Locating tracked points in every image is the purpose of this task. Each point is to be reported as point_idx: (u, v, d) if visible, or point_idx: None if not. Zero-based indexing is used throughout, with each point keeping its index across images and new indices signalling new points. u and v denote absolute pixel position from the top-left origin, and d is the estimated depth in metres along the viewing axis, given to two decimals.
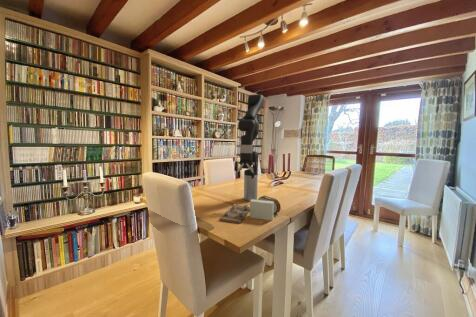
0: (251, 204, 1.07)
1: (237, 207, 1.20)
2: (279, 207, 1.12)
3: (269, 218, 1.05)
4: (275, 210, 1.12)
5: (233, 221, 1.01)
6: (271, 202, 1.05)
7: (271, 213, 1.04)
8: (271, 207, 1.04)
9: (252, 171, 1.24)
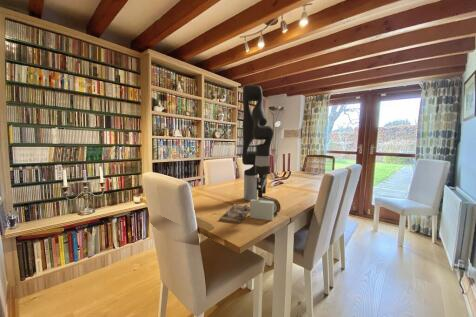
0: (251, 204, 1.07)
1: (237, 207, 1.20)
2: (279, 207, 1.12)
3: (269, 218, 1.05)
4: (275, 210, 1.12)
5: (233, 221, 1.01)
6: (271, 202, 1.05)
7: (271, 213, 1.04)
8: (271, 207, 1.04)
9: (265, 185, 1.10)
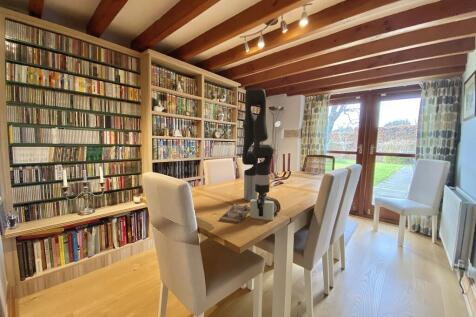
0: (251, 204, 1.07)
1: (237, 207, 1.20)
2: (279, 207, 1.12)
3: (269, 218, 1.05)
4: (275, 210, 1.12)
5: (233, 221, 1.01)
6: (271, 202, 1.05)
7: (271, 213, 1.04)
8: (271, 207, 1.04)
9: None
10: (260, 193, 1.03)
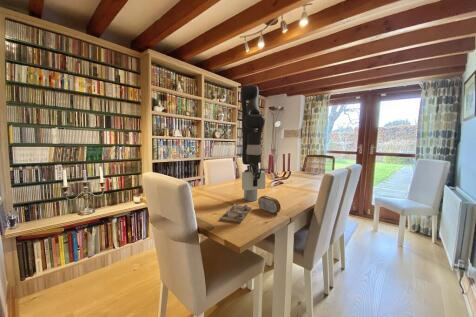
0: (245, 176, 1.04)
1: (237, 207, 1.20)
2: (279, 207, 1.12)
3: (262, 187, 1.08)
4: (275, 210, 1.12)
5: (233, 221, 1.01)
6: (262, 171, 1.09)
7: (264, 181, 1.08)
8: (264, 176, 1.08)
9: None
10: (256, 163, 1.03)
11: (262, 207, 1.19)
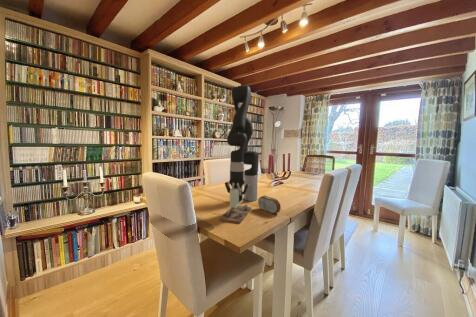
0: (236, 193, 1.05)
1: (237, 207, 1.20)
2: (279, 207, 1.12)
3: (242, 200, 1.15)
4: (275, 210, 1.12)
5: (233, 221, 1.01)
6: None
7: (242, 195, 1.16)
8: (242, 189, 1.15)
9: None
10: (243, 179, 1.09)
11: (262, 207, 1.19)
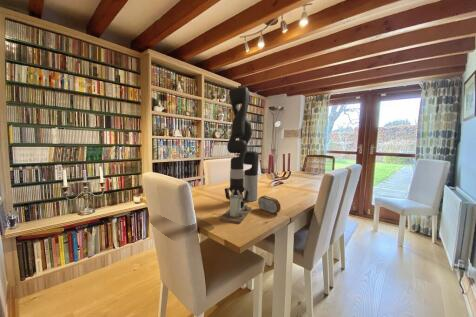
0: (236, 202, 1.06)
1: None
2: (279, 207, 1.12)
3: (242, 208, 1.16)
4: (275, 210, 1.12)
5: (233, 221, 1.01)
6: None
7: None
8: None
9: None
10: (243, 186, 1.09)
11: (262, 207, 1.19)
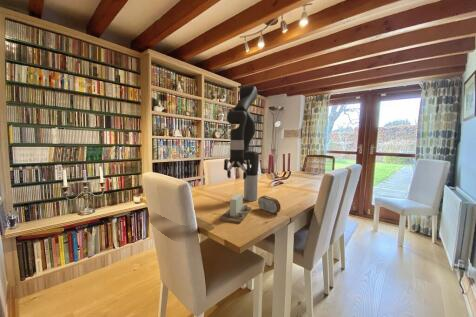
0: (236, 202, 1.06)
1: None
2: (279, 207, 1.12)
3: (242, 208, 1.16)
4: (275, 210, 1.12)
5: (233, 221, 1.01)
6: (239, 194, 1.16)
7: (242, 203, 1.16)
8: (242, 197, 1.16)
9: None
10: (243, 157, 1.08)
11: (262, 207, 1.19)
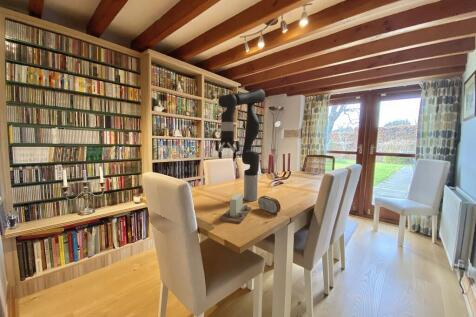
0: (236, 202, 1.06)
1: None
2: (279, 207, 1.12)
3: (242, 208, 1.16)
4: (275, 210, 1.12)
5: (233, 221, 1.01)
6: (239, 194, 1.16)
7: (242, 203, 1.16)
8: (242, 197, 1.16)
9: None
10: (233, 138, 1.15)
11: (262, 207, 1.19)
